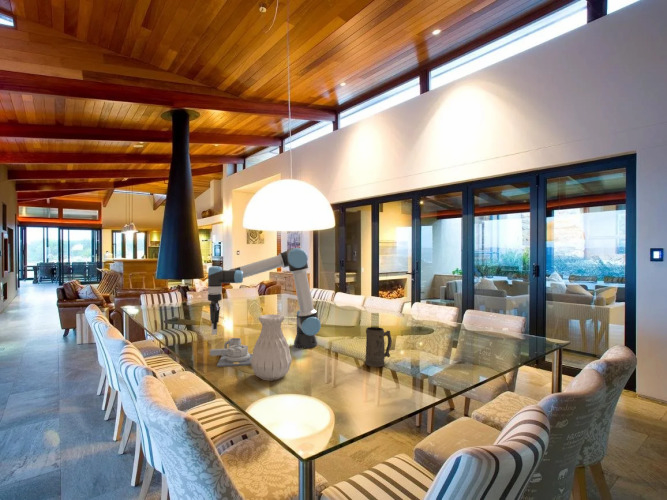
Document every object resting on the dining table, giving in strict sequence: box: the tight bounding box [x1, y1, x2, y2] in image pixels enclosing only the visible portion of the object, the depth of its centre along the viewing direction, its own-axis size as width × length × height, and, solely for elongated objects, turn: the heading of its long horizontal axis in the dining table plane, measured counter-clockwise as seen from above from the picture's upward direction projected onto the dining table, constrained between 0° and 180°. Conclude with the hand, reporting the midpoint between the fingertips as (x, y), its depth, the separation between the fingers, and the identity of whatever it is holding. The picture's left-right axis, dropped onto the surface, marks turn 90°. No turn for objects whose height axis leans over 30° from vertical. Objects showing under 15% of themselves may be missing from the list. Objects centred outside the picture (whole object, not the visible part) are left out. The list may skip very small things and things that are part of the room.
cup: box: [223, 337, 242, 349], centre depth 216 cm, size 7×10×9 cm
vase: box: [250, 314, 293, 382], centre depth 178 cm, size 20×20×30 cm
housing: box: [216, 347, 253, 368], centre depth 203 cm, size 20×18×8 cm
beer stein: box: [364, 326, 393, 368], centre depth 199 cm, size 15×11×20 cm
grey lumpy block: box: [209, 344, 249, 357], centre depth 202 cm, size 20×11×4 cm, turn 98°
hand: (214, 334), depth 207 cm, fingers closed
